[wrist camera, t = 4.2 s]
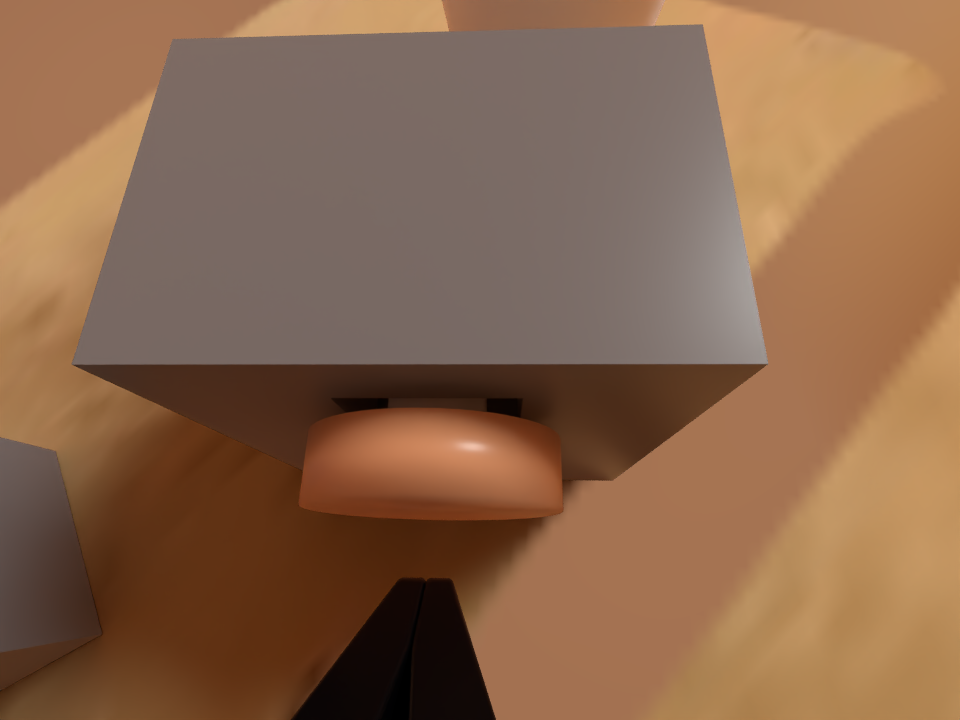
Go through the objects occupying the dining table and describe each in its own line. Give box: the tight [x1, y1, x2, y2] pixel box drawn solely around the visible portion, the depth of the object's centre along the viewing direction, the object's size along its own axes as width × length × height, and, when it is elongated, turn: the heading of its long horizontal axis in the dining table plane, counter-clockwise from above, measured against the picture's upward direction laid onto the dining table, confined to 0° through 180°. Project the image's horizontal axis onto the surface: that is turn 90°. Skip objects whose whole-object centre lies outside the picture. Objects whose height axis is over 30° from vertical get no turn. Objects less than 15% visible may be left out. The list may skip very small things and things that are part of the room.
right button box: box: [72, 25, 768, 480], centre depth 13 cm, size 6×9×10 cm, turn 89°
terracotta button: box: [299, 398, 563, 520], centre depth 10 cm, size 6×4×4 cm
